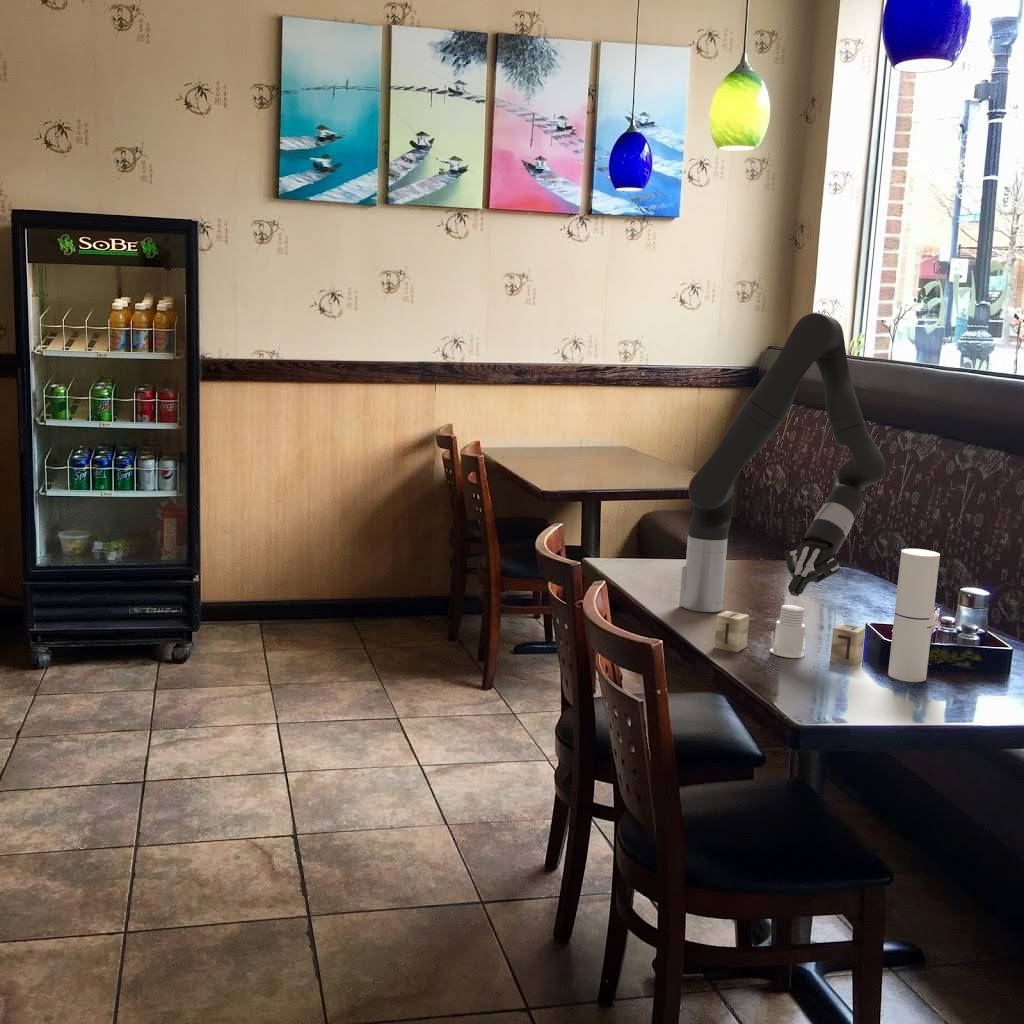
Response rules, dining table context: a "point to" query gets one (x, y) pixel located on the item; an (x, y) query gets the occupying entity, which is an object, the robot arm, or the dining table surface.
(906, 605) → the cylindrical container
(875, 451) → the robot arm
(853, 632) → the birch block seven
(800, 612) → the downlight
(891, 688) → the dining table surface
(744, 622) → the birch block one
